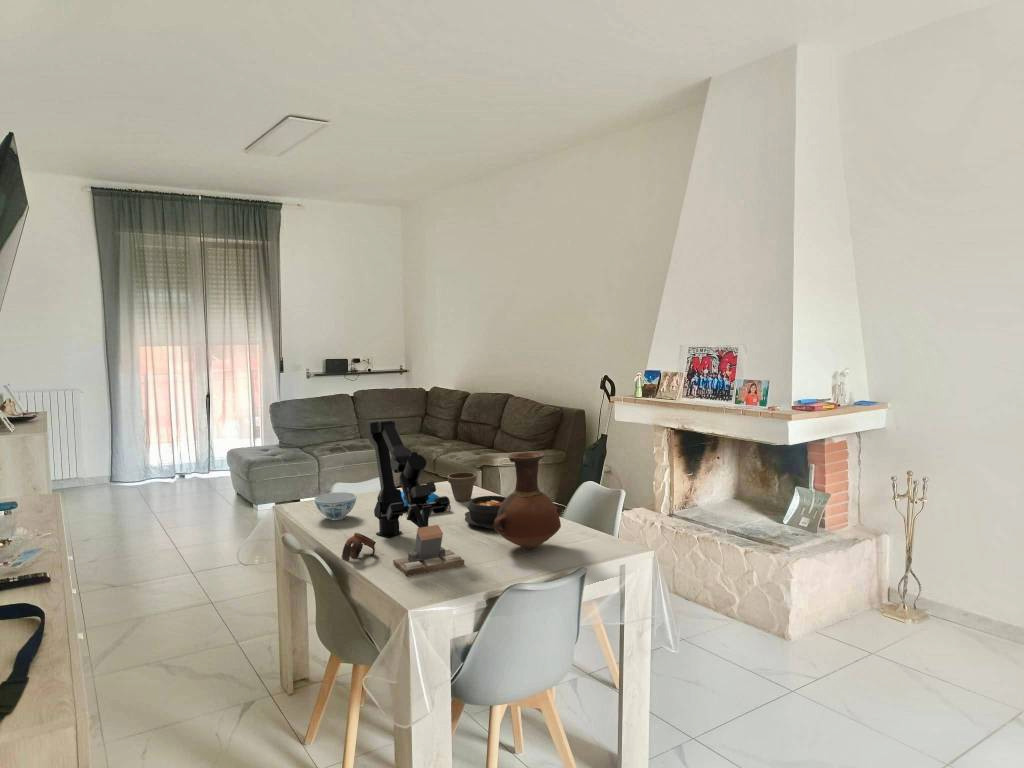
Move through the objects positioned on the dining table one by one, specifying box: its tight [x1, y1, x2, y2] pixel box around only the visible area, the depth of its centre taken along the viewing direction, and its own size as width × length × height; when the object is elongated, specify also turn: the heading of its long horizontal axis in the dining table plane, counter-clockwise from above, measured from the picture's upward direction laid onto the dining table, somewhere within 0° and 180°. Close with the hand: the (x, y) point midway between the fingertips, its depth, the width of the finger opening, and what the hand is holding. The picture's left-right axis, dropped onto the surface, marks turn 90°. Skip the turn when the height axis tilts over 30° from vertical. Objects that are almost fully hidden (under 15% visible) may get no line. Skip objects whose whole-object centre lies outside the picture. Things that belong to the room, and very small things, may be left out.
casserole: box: [464, 495, 507, 530], centre depth 248 cm, size 25×19×8 cm
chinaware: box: [314, 491, 357, 520], centre depth 258 cm, size 15×15×8 cm
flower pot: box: [447, 471, 477, 502], centre depth 282 cm, size 12×11×10 cm
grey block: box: [413, 524, 444, 560], centre depth 206 cm, size 4×7×10 cm, turn 119°
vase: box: [493, 451, 562, 550], centre depth 220 cm, size 25×20×30 cm
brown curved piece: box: [341, 532, 377, 562], centre depth 214 cm, size 12×10×8 cm
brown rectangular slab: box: [392, 546, 465, 577], centre depth 207 cm, size 11×18×4 cm, turn 119°
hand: (426, 532), depth 207 cm, fingers closed, pressing on grey block
